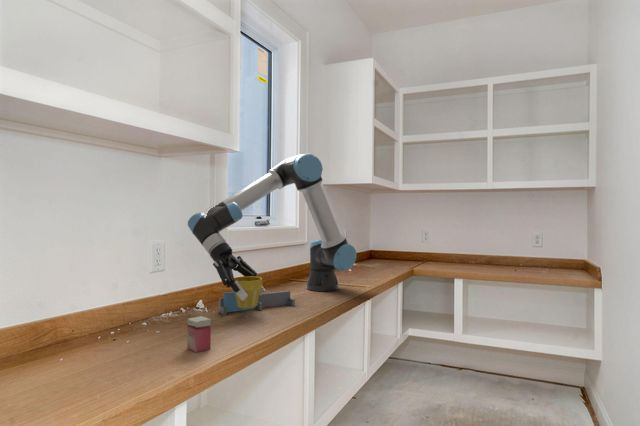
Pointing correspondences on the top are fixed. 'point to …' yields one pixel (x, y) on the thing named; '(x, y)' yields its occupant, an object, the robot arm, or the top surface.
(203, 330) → the small box
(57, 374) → the top surface
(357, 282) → the top surface
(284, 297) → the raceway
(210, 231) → the robot arm
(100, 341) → the top surface
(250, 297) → the plant pot
